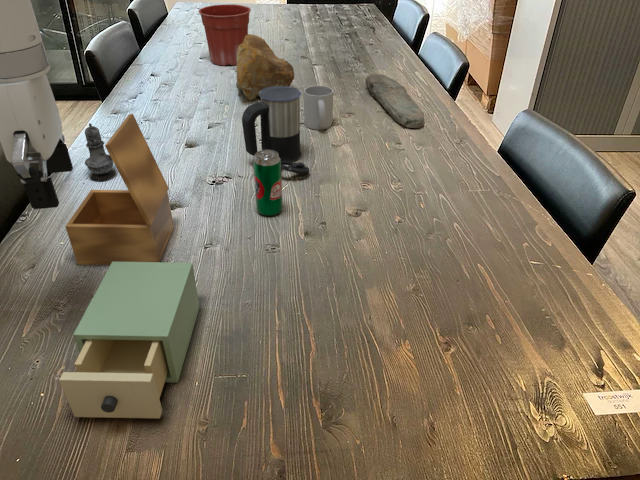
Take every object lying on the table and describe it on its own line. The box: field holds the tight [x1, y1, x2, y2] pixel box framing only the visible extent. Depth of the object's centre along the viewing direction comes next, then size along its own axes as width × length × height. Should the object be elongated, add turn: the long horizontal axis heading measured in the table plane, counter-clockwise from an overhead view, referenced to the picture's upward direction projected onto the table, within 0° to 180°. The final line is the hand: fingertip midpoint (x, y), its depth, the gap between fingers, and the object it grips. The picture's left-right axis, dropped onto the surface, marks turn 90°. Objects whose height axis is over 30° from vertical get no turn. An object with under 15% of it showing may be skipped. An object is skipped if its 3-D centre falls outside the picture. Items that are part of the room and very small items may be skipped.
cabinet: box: [72, 261, 201, 384], centre depth 74 cm, size 15×12×9 cm
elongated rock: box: [364, 73, 425, 129], centre depth 149 cm, size 35×5×10 cm
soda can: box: [252, 149, 284, 217], centre depth 102 cm, size 5×5×12 cm
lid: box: [104, 113, 170, 226], centre depth 87 cm, size 14×12×1 cm
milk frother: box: [241, 86, 310, 176], centre depth 117 cm, size 14×16×15 cm
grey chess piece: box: [84, 122, 117, 183], centre depth 113 cm, size 6×6×12 cm
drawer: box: [59, 339, 169, 419], centre depth 68 cm, size 15×10×7 cm
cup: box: [303, 85, 334, 131], centre depth 135 cm, size 7×10×9 cm
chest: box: [65, 189, 175, 266], centre depth 93 cm, size 14×12×8 cm
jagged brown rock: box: [235, 33, 295, 101], centre depth 153 cm, size 23×17×15 cm
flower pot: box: [198, 3, 252, 67], centre depth 176 cm, size 16×16×16 cm
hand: (54, 188), depth 73 cm, fingers open, 9 cm apart
